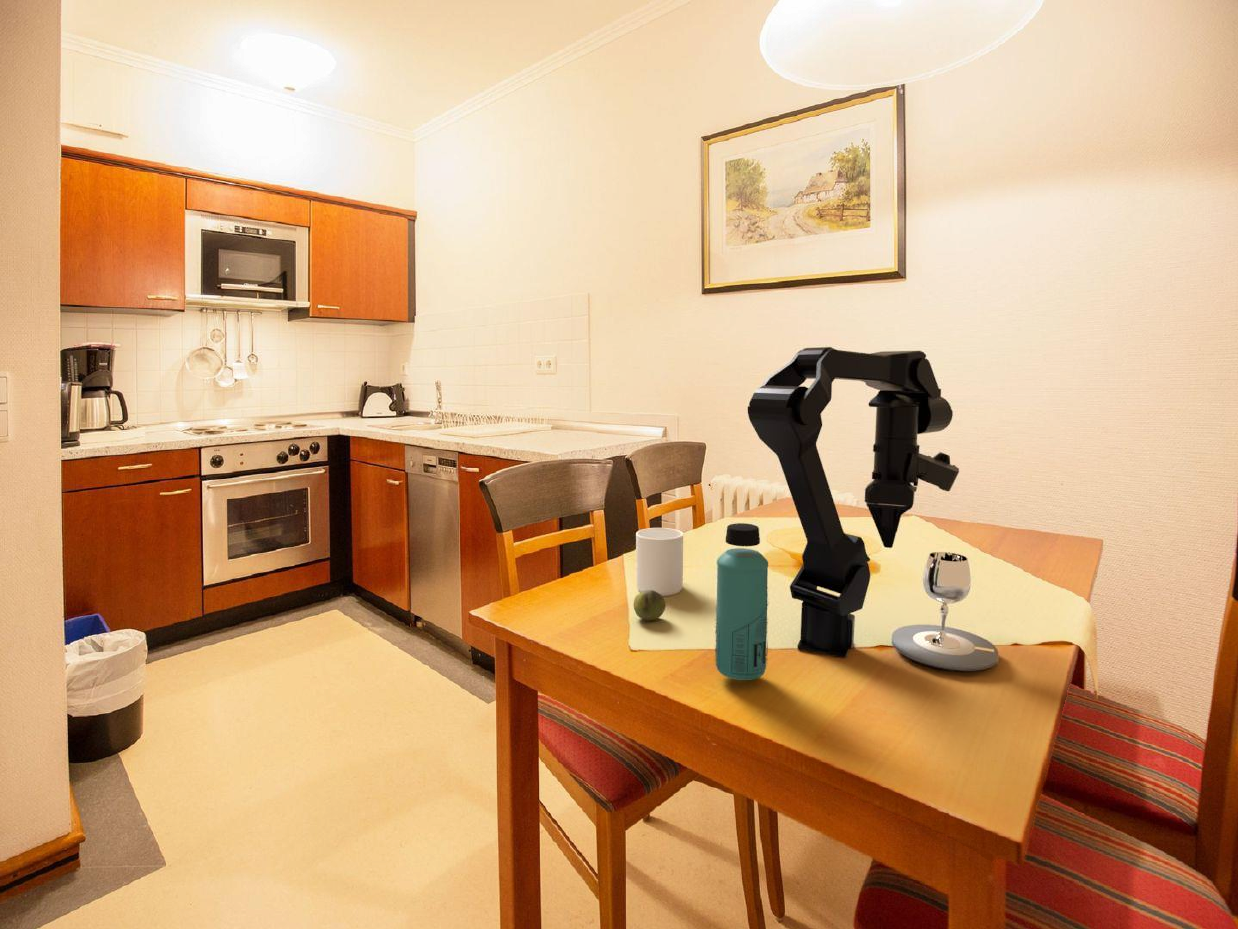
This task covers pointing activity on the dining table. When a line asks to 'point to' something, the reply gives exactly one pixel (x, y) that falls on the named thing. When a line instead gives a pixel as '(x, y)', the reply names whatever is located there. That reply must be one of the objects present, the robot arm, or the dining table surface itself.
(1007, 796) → the dining table surface
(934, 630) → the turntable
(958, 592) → the wineglass
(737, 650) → the beverage bottle
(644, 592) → the lime
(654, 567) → the cup
